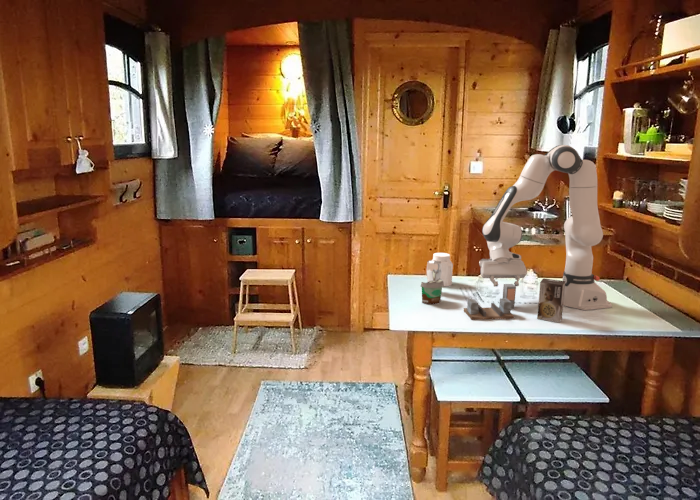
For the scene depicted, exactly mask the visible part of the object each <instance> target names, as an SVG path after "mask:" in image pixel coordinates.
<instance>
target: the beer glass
mask: <svg viewBox="0 0 700 500" xmlns="http://www.w3.org/2000/svg"><path fill="white" fill-rule="evenodd" d="M441 272H442V262H441V261H438V260H432V259H429V260H428V261H427V264H426V279H427V282H429V281H435V280H438V278H441Z"/></svg>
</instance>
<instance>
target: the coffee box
mask: <svg viewBox="0 0 700 500" xmlns="http://www.w3.org/2000/svg"><path fill="white" fill-rule="evenodd" d="M564 292H565V281H563V280H558V279H552V278H542V279H541V281H540V282H539V291H538V304H537V305H538V306H537V315H536V316H537V317H536V319H538V320H543V321H550V322H554V323H560V322H561V321H562V319H563V312H564V311H563V310H564V305H563V303H564Z"/></svg>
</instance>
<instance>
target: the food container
mask: <svg viewBox="0 0 700 500" xmlns="http://www.w3.org/2000/svg"><path fill="white" fill-rule="evenodd" d="M420 287H421V303H422V304H424V305H425V304H426V305H438V304H440V303H441V298H442V292H443V291H442V290H443V287H445V286H444V282H443V279H441V278H438V280H435V281H429V282H428V281H427V282H425V281H421V284H420Z"/></svg>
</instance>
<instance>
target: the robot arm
mask: <svg viewBox="0 0 700 500" xmlns="http://www.w3.org/2000/svg"><path fill="white" fill-rule="evenodd" d="M554 171H557V172H561V173H564V174H568V178H569V191H568V192H569V193H568V194H569V195H568V196H569V198H568V203H569V207H570V211H571V216H570V217H568V218H566V219H565V221H564V224H563V230H564V236H565V237H564V238H565V253H566V255H565V267H564V271H563V274H562V281H565V292H564V303H563V306H565V307H569V308H573V309H578V310H582V311H591V310H599V309H611V308H612V307H613V305H612V303H611V302H610V301H609V300H608V296H607V292H606V291H605V290H604V289H603V288H602V287H600V285H599V284H597V283H596V282H598V281H600V279H601V278H600V276H598V275H594V274H593V273H592V272H593V263H594V255H593V250H592V248H593V246H596V245H598V244H600V243H601V241H602V240H603V239H604V238H603V237H604V231H603V229H602V226H601V220H600V218H601V217H600V214H599V207H598V173H597V167H596V164H595V163H594V162H593V161H591V160H589V159H582V158H581V155H580V154H579V152H578V151H577V150H576V149H575V148H574V147H572V146H571V145H567V144H559V145H556V146H554V147H552V148H551V149H550V150H549V151H548V152H547V153H545V154H542V153H541V154H540V153H539V154H538V153H536V154H532V155H531V156H530V157H529V158H528V160H527V161H526V163H525V165H524V167H522V171H521V172H520V175H519V177H518V178H517V180H516V181H515V183H514V184H513V185H512V186H509V187H508V188H507V189H506V190H505V192H504V193H503V195H502V196H501V198H500V200H499V201H498V203H497V205H496V206H495V209H493V212H492V213H491V215H490V217H489V218H488V219H487V220H486V222H485V223H484V224H483V226H482V229H481V232H482V235H483V237H484V240H486V243H487V248H488V250H489V258H481V259H480V260H479V262H478V264H479V267H480V276H481V278H482V279H489V281H490V282H491V283H492V284H493V287H495V288H497V287H499V281H497V280H496V279H515V281H514V283H513V285H515V286H516V287H519V286H520V279H524V278H525V277H526V276H527V275H528V274H527V273H528V271H527V267H526V265H525V263H524V261H523V260H522V255H520V254H518V253H514V252H512V251H510V250H509V249H510V248H513V247H514V246H516V245H518V244H519V243H520V242H521V241H522V239H523V229H522V227H521V226H520V225H517V224H515V223H511V222H506V221H504V219H505V218H506V216H507V215H508V213H509V211H510V209H511V208H512V207H513V206H514V205H515V204H516V203H520V202H522V201H530V200H533V199H535V198H537V197H539V196H540V194H541V193H542V191H543V189H544V187H545V184H546V182H547V179H548V177H549V176H550V174H551V173H553V172H554ZM595 281H596V282H595Z"/></svg>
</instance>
